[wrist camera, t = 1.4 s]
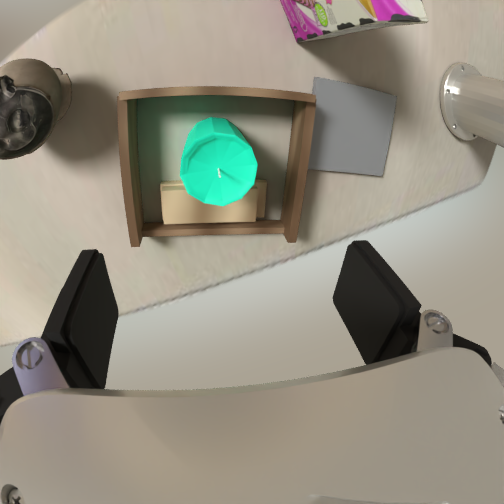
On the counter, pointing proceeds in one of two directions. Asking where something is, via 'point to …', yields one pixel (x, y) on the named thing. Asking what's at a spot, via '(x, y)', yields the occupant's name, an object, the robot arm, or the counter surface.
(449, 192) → the counter surface
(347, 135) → the mat
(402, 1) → the candy bar box
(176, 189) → the offcut stack
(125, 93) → the wooden tray
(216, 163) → the candle
